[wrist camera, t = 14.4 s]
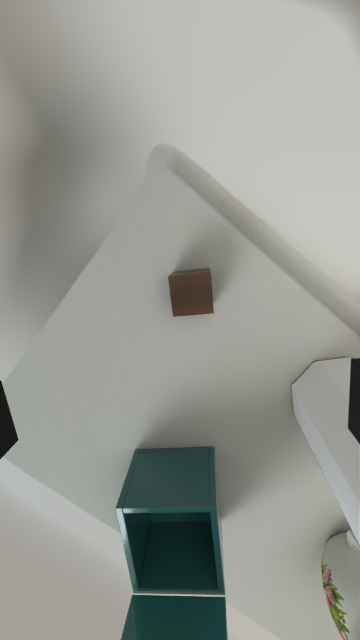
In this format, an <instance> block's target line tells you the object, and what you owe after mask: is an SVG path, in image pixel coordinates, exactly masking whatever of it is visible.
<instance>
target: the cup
mask: <svg viewBox="0 0 360 640" xmlns="http://www.w3.org/2000/svg"><path fill="white" fill-rule="evenodd" d="M351 359H352V358H350V357H347V358H339V359H331V360H323V361H316V362H314V363H312V365H311V366H310V367H309V368H308V369H307V370H306V371H305V372H304V373H303V374H302V375H301V376H300V377H299V378H298V380H297V381H296V382H295V383H294V384H293V385H292V387H291V388H292V399H293V410H294V415H295V417H296V419H297V421H298V423H299V425H300V427H301V429H302V431H303V433H304V435H305V437H306V439H307V441H308V443H309V445H310V447H311V449H312V451H313V453H314V455H315V457H316V459H317V461H318V463H319V465H320V467H321V469H322V471H323V473H324V475H325V477H326V479H327V481H328V483H329V485H330V487H331V489H332V491H333V493H334V495H335V497H336V499H337V501H338V503H339V505H340V507H341V509H342V511H343V513H344V515H345V517H346V519H347V521H348V523H349V525H350V527H351V529H352V531H353V533H354V535H355V537H356V539H357V541H358V543H359V545H360V444H359V443H358V441H357V440H356V439H355V437H354V436H353V434H352V433H351V432H350V430H349V429H348V411H349V389H350V367H351Z"/></svg>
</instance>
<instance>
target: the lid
mask: <svg viewBox="0 0 360 640" xmlns="http://www.w3.org/2000/svg"><path fill="white" fill-rule="evenodd" d="M121 640H228V638H227V618H226V600H225V597H197V596H196V597H195V596H153V595H151V596H150V595H132V598H131V602H130V606H129V610H128V614H127V618H126V622H125V626H124V630H123V634H122V638H121Z"/></svg>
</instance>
